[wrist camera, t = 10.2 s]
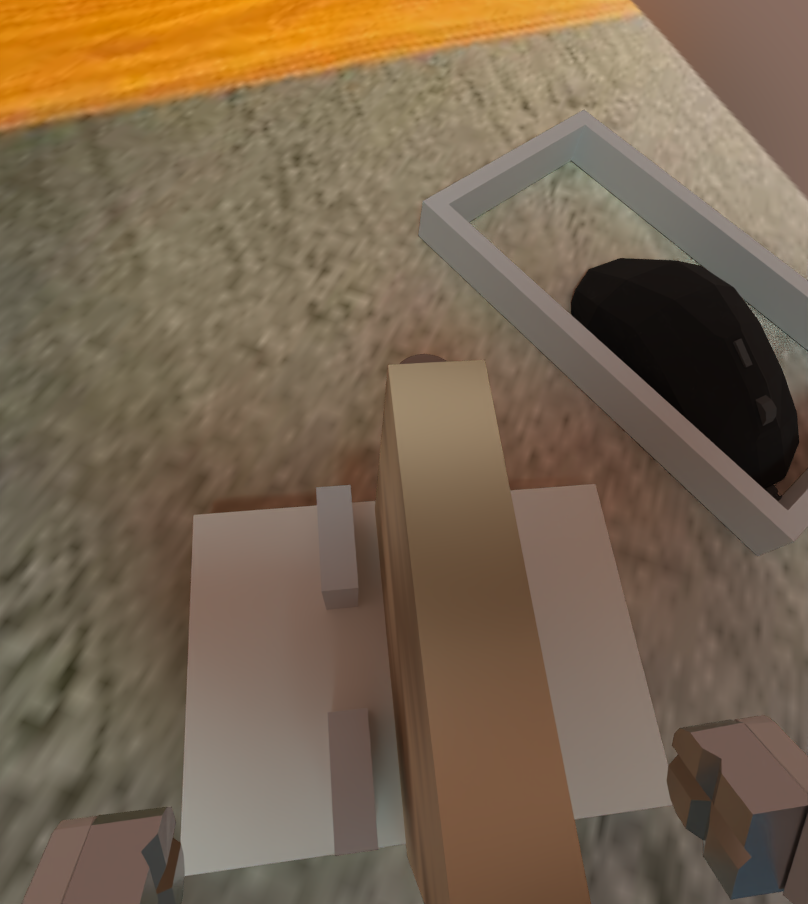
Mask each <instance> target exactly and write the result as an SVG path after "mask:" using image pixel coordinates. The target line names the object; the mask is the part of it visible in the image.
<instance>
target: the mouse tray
mask: <svg viewBox="0 0 808 904" xmlns="http://www.w3.org/2000/svg"><path fill="white" fill-rule="evenodd" d="M570 161H572V162H574V163H575V164H576V165H577V166H579V167H580V168H581V169H582V170H584V171H585V172H586V173H587V174H589V175H590V176H591V177H592V178H594V179H595V180H596V181H597V182H599V183H600V184H601V185H602V186H604V187H605V188H606V189H607V190H609V191H610V192H611V193H612V194H614V195H615V196H616V197H617V198H619V199H620V200H621V201H622V202H623V203H625V204H626V205H627V206H628V207H630V208H631V209H632V210H633V211H635V212H636V213H637V214H638V215H640V216H641V217H642V218H643V219H645V220H646V221H647V222H648V223H650V224H651V225H652V226H653V227H655V228H656V229H657V230H658V231H660V232H661V233H662V234H663V235H665V236H666V237H667V238H668V239H670V240H671V241H672V242H673V243H675V244H676V245H677V246H678V247H679V248H681V249H682V250H683V251H684V252H686V253H687V254H688V255H689V256H691V257H692V258H693V259H694V260H696V261H697V262H698V263H699V264H701V265H702V266H703V267H704V268H706V269H707V270H708V271H710V272H711V273H713V274H714V275H716V276H717V277H719V278H720V279H722V280H723V281H725V282H727V283H728V284H730V285H731V286H733V287H734V288H735V289H736V291H737V292H738V293H739V295H740V296H741V297H742V298H743V299H744V300H745V301H747V302H748V303H749V304H750V305H752V306H753V307H754V308H755V309H757V310H758V311H759V312H760V313H762V314H763V315H764V316H765V317H767V318H768V319H769V320H770V321H772V322H773V323H774V324H775V325H777V326H778V327H779V328H780V329H782V330H783V331H784V332H785V333H787V334H788V335H789V336H790V337H792V338H793V339H794V340H795V341H797V342H798V343H799V344H800V345H801V346H803V347H804V348H805V349H806V350H808V280H807V279H805V278H804V277H803V276H801V275H800V274H799V273H797V272H796V271H795V270H793V269H792V268H791V267H790V266H788V265H787V264H786V263H784V262H783V261H782V260H780V259H779V258H778V257H776V256H775V255H774V254H773V253H771V252H770V251H769V250H767V249H766V248H765V247H763V246H762V245H761V244H759V243H758V242H757V241H755V240H754V239H753V238H752V237H750V236H749V235H748V234H746V233H745V232H744V231H742V230H741V229H740V228H738V227H737V226H736V225H735V224H733V223H732V222H731V221H729V220H728V219H727V218H725V217H724V216H723V215H721V214H720V213H719V212H718V211H716V210H715V209H714V208H712V207H711V206H710V205H708V204H707V203H706V202H704V201H703V200H702V199H701V198H699V197H698V196H697V195H695V194H694V193H693V192H691V191H690V190H689V189H687V188H686V187H685V186H684V185H682V184H681V183H680V182H678V181H677V180H676V179H674V178H673V177H672V176H670V175H669V174H668V173H666V172H665V171H664V170H663V169H661V168H660V167H659V166H657V165H656V164H655V163H653V162H652V161H651V160H649V159H648V158H647V157H646V156H644V155H643V154H642V153H640V152H639V151H638V150H636V149H635V148H634V147H632V146H631V145H630V144H629V143H627V142H626V141H625V140H623V139H622V138H621V137H619V136H618V135H617V134H615V133H614V132H613V131H612V130H610V129H609V128H608V127H606V126H605V125H604V124H602V123H601V122H600V121H598V120H597V119H596V118H595V117H593V116H592V115H591V114H589V113H588V112H587V111H585V110H582V111H580V112H579V113H577V114H575V115H573V116H572V117H570V118H568V119H566V120H565V121H563V122H561V123H559V124H557V125H556V126H554V127H552V128H550V129H549V130H547V131H545V132H543V133H542V134H540V135H538V136H536V137H535V138H533V139H531V140H529V141H528V142H526V143H524V144H522V145H521V146H519V147H517V148H515V149H513V150H512V151H510V152H508V153H506V154H505V155H503V156H501V157H499V158H498V159H496V160H494V161H492V162H491V163H489V164H487V165H485V166H484V167H482V168H480V169H478V170H476V171H475V172H473V173H471V174H469V175H468V176H466V177H464V178H462V179H461V180H459V181H457V182H455V183H454V184H452V185H450V186H448V187H447V188H445V189H443V190H441V191H439V192H438V193H436V194H434V195H432V196H431V197H429V198H427V199H425V200H424V201H423V203H422V211H421V218H420V226H419V234H418V236H419V237H420V238H422V239H423V240H424V241H425V242H426V243H427V244H428V245H429V246H430V247H431V248H432V249H433V250H434V251H435V252H436V253H437V254H438V255H440V256H441V257H442V258H443V259H444V260H445V261H446V262H447V263H448V264H449V265H450V266H451V267H452V268H453V269H454V270H455V271H456V272H458V273H459V274H460V275H461V276H462V277H463V278H464V279H465V280H466V281H467V282H468V283H469V284H470V285H471V286H472V287H473V288H474V289H476V290H477V291H478V292H479V293H480V294H481V295H482V296H483V297H484V298H485V299H486V300H487V301H488V302H489V303H490V304H491V305H492V306H494V307H495V308H496V309H497V310H498V311H499V312H500V313H501V314H502V315H503V316H504V317H505V318H506V319H507V320H508V321H509V322H510V323H511V324H513V325H514V326H515V327H516V328H517V329H518V330H519V331H520V332H521V333H522V334H523V335H524V336H525V337H526V338H527V339H528V340H529V341H531V342H532V343H533V344H534V345H535V346H536V347H537V348H538V349H539V350H540V351H541V352H542V353H543V354H544V355H545V356H546V357H547V358H549V359H550V360H551V361H552V362H553V363H554V364H555V365H556V366H557V367H558V368H559V369H560V370H561V371H562V372H563V373H564V374H565V375H567V376H568V377H569V378H570V379H571V380H572V381H573V382H574V383H575V384H576V385H577V386H578V387H579V388H580V389H581V390H582V391H583V392H585V393H586V394H587V395H588V396H589V397H590V398H591V399H592V400H593V401H594V402H595V403H596V404H597V405H598V406H599V407H600V408H601V409H603V410H604V411H605V412H606V413H607V414H608V415H609V416H610V417H611V418H612V419H613V420H614V421H615V422H616V423H617V424H618V425H619V426H620V427H622V428H623V429H624V430H625V431H626V432H627V433H628V434H629V435H630V436H631V437H632V438H633V439H634V440H635V441H636V442H637V443H638V444H640V445H641V446H642V447H643V448H644V449H645V450H646V451H647V452H648V453H649V454H650V455H651V456H652V457H653V458H654V459H655V460H656V461H658V462H659V463H660V464H661V465H662V466H663V467H664V468H665V469H666V470H667V471H668V472H669V473H670V474H671V475H672V476H673V477H674V478H676V479H677V480H678V481H679V482H680V483H681V484H682V485H683V486H684V487H685V488H686V489H687V490H688V491H689V492H690V493H691V494H692V495H694V496H695V497H696V498H697V499H698V500H699V501H700V502H701V503H702V504H703V505H704V506H705V507H706V508H707V509H708V510H709V511H710V512H711V513H713V514H714V515H715V516H716V517H717V518H718V519H719V520H720V521H721V522H722V523H723V524H724V525H725V526H726V527H727V528H728V529H729V530H731V531H732V532H733V533H734V534H735V535H736V536H737V537H738V538H739V539H740V540H741V541H742V542H743V543H744V544H745V545H746V546H747V547H749V548H750V549H751V550H752V551H753V552H754V553H755V554H756V555H757V556H759V555H762V554H764V553H767V552H769V551H772V550H774V549H777V548H780V547H782V546H785V545H787V544H790V543H792V542H794V541H795V540H796V539H797V538H798V537H799V536H800V535H801V533H802V532H803V531H804V530H805V529H806V528H807V527H808V469H807V470H806V471H805V472H804V473H803V474H802V475H801V476H800V478H799V479H798V480H797V481H796V482H795V483H794V484H793V485H792V486H791V487H790V488H789V489H788V490H787V491H786V492H785V493H784V495H783V496H782V498H781V499H780V500H779V501H777V500H776V499H774V498H773V497H772V496H771V495H770V494H769V493H768V492H767V491H766V490H764V489H763V488H762V487H761V486H760V485H759V484H758V483H757V482H756V481H755V480H753V479H752V478H751V477H750V476H749V475H748V474H747V473H746V472H745V471H743V470H742V469H741V468H740V467H739V466H738V465H737V464H736V463H735V462H733V461H732V460H731V459H730V458H729V457H728V456H727V455H726V454H725V453H724V452H722V451H721V450H720V449H719V448H718V447H717V446H716V445H715V444H714V443H712V442H711V441H710V440H709V439H708V438H707V437H706V436H705V435H704V434H702V433H701V432H700V431H699V430H698V429H697V428H696V427H695V426H694V425H693V424H691V423H690V422H689V421H688V420H687V419H686V418H685V417H684V416H683V415H681V414H680V413H679V412H678V411H677V410H676V409H675V408H674V407H673V406H671V405H670V404H669V403H668V402H667V401H666V400H665V399H664V398H663V397H662V396H660V395H659V394H658V393H657V392H656V391H655V390H654V389H653V388H652V387H650V386H649V385H648V384H647V383H646V382H645V381H644V380H643V379H642V378H640V377H639V376H638V375H637V374H636V373H635V372H634V371H633V370H632V369H631V368H629V367H628V366H627V365H626V364H625V363H624V362H623V361H622V360H621V359H619V358H618V357H617V356H616V355H615V354H614V353H613V352H612V351H611V350H609V349H608V348H607V347H606V346H605V345H604V344H603V343H602V342H601V341H599V340H598V339H597V338H596V337H595V336H594V335H593V334H592V333H591V332H590V331H588V330H587V329H586V328H585V327H584V326H583V325H582V324H581V323H580V322H578V321H577V320H576V319H575V318H574V317H573V316H572V315H571V314H570V313H568V312H567V311H566V310H565V309H564V308H563V307H562V306H561V305H560V304H559V303H557V302H556V301H555V300H554V299H553V298H552V297H551V296H550V295H549V294H547V293H546V292H545V291H544V290H543V289H542V288H541V287H540V286H539V285H537V284H536V283H535V282H534V281H533V280H532V279H531V278H530V277H529V276H528V275H526V274H525V273H524V272H523V271H522V270H521V269H520V268H519V267H518V266H516V265H515V264H514V263H513V262H512V261H511V260H510V259H509V258H508V257H506V256H505V255H504V254H503V253H502V252H501V251H500V250H499V249H498V248H497V247H495V246H494V245H493V244H492V243H491V242H490V241H489V240H488V239H487V238H485V237H484V236H483V235H482V234H481V233H480V232H479V231H478V230H477V229H475V228H474V227H473V226H472V225H471V224H470V223H469V222H470V221H472V220H473V219H475V218H477V217H478V216H480V215H482V214H483V213H485V212H487V211H488V210H490V209H492V208H493V207H495V206H497V205H498V204H500V203H502V202H503V201H505V200H507V199H508V198H510V197H512V196H513V195H515V194H517V193H518V192H520V191H522V190H523V189H525V188H526V187H528V186H530V185H531V184H533V183H535V182H536V181H538V180H540V179H541V178H543V177H545V176H546V175H548V174H550V173H551V172H553V171H555V170H556V169H558V168H560V167H561V166H563V165H565V164H566V163H568V162H570Z"/></svg>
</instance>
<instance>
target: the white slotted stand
mask: <svg viewBox="0 0 808 904" xmlns="http://www.w3.org/2000/svg"><path fill="white" fill-rule="evenodd" d="M510 491H511V496H512V502H513V507H514V512H515V517H516V522H517V527H518V532H519V537H520V543H521V548H522V553H523V558H524V563H525V568H526V573H527V578H528V584H529V589H530V594H531V599H532V604H533V609H534V614H535V620H536V625H537V630H538V635H539V640H540V645H541V650H542V655H543V661H544V666H545V671H546V676H547V681H548V686H549V691H550V696H551V702H552V707H553V712H554V717H555V722H556V727H557V732H558V737H559V743H560V748H561V753H562V758H563V763H564V768H565V773H566V779H567V784H568V789H569V794H570V799H571V804H572V809H573V814H574V819H581V818H588V817H595V816H602V815H609V814H616V813H623V812H629V811H636V810H643V809H650V808H657V807H664V806H671V805H673V804H672V802H671V800H670V796H669V791H668V786H667V773H668V763H667V759H666V755H665V751H664V747H663V744H662V740H661V736H660V732H659V728H658V724H657V720H656V716H655V713H654V709H653V705H652V701H651V697H650V693H649V689H648V685H647V682H646V678H645V674H644V670H643V666H642V662H641V658H640V655H639V651H638V647H637V643H636V639H635V635H634V631H633V627H632V624H631V620H630V616H629V612H628V608H627V604H626V600H625V597H624V593H623V589H622V585H621V581H620V577H619V573H618V569H617V566H616V562H615V558H614V554H613V550H612V546H611V542H610V538H609V535H608V531H607V527H606V523H605V519H604V515H603V511H602V508H601V504H600V500H599V496H598V492H597V488H596V484H587V485H574V486H561V487H548V488H535V489H522V490H510ZM316 495H317V505H315V506H303V507H290V508H277V509H264V510H251V511H238V512H225V513H212V514H199V515H194V517H193V542H192V568H191V593H190V618H189V643H188V668H187V693H186V719H185V744H184V769H183V794H182V819H181V845H182V850H183V854H184V867H185V876H188V875H195V874H202V873H209V872H216V871H223V870H230V869H237V868H244V867H251V866H257V865H264V864H271V863H278V862H285V861H292V860H299V859H306V858H313V857H319V856H326V855H333V854H335V856H337V855H344V854H351V853H358V852H365V851H372V850H378V848H381V847H388V846H395V845H402V844H406V838H405V828H404V817H403V806H402V796H401V785H400V774H399V763H398V753H397V742H396V731H395V720H394V710H393V699H392V688H391V678H390V667H389V656H388V645H387V635H386V624H385V613H384V603H383V592H382V581H381V570H380V560H379V549H378V538H377V527H376V517H375V501H367V502H354V503H352V496H351V485H341V486H328V487H316Z"/></svg>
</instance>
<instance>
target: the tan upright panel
mask: <svg viewBox="0 0 808 904" xmlns="http://www.w3.org/2000/svg"><path fill="white" fill-rule="evenodd" d="M375 517H376V527H377V538H378V549H379V560H380V570H381V581H382V592H383V603H384V613H385V624H386V635H387V645H388V656H389V667H390V678H391V688H392V699H393V710H394V720H395V731H396V742H397V753H398V763H399V774H400V785H401V796H402V806H403V817H404V828H405V838H406V849H407V857H408V860H409V863H410V865H411V868H412V871H413V874H414V876H415V879H416V882H417V885H418V887H419V890H420V893H421V895H422V898H423V901H424V904H591V902H590V896H589V891H588V886H587V881H586V876H585V871H584V866H583V861H582V855H581V850H580V845H579V840H578V835H577V830H576V825H575V820H574V814H573V809H572V804H571V799H570V794H569V789H568V784H567V779H566V773H565V768H564V763H563V758H562V753H561V748H560V743H559V737H558V732H557V727H556V722H555V717H554V712H553V707H552V702H551V696H550V691H549V686H548V681H547V676H546V671H545V666H544V661H543V655H542V650H541V645H540V640H539V635H538V630H537V625H536V620H535V614H534V609H533V604H532V599H531V594H530V589H529V584H528V578H527V573H526V568H525V563H524V558H523V553H522V548H521V543H520V537H519V532H518V527H517V522H516V517H515V512H514V507H513V502H512V496H511V491H510V486H509V481H508V476H507V471H506V466H505V461H504V455H503V450H502V445H501V440H500V435H499V430H498V425H497V419H496V414H495V409H494V404H493V399H492V394H491V389H490V384H489V378H488V373H487V368H486V363H485V360H470V361H451V362H447V361H446V360H444V359H442V358H440V357H437V356H434V355H429V354H420V355H414V356H411V357H409V358H407V359H405V360H403V361H402V362H401V363H400V364H393V365H388V371H387V382H386V393H385V404H384V414H383V425H382V436H381V447H380V458H379V469H378V479H377V490H376V501H375Z"/></svg>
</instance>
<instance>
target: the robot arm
mask: <svg viewBox="0 0 808 904" xmlns="http://www.w3.org/2000/svg"><path fill="white" fill-rule="evenodd" d="M672 746H673V747H674V749H675V750H676V752H677V753H678V755H677V756H676V758H675V759H674V760H673V761H672V762H671V763H670V764H669V765H668V773H667V786H668V791H669V796H670V800H671V802H672V804H673V807H674V809H675V811H676V813H677V815H678V817H679V818H680V820H681V822H682V823H683V825H684V826H685V828H686V829H687V830H689V831H690V832H692V833H693V834H695V835H696V836H698V837H699V838H701V839H702V840H703V857H704V858H705V860H706V861H707V863H708V865H709V866H710V868H711V869H712V871H713V872H714V874H715V876H716V877H717V879H718V880H719V882H720V883H721V885H722V887H723V888H724V890H725V891H726V893H727V894H728V896H729V898H730V899H737V898H744V897H750V896H756V895H763V894H769V893H775V892H781V891H784V892H783V895H784V896H785V897H786V898H787V899H789V900H790V901H791V902H792V903H794V904H808V756H807V755H806V754H805V753H804V752H803V751H802V750H801V749H800V748H799V747H798V746H797V745H796V744H795V743H794V742H793V741H792V740H791V739H790V737H789V736H788V735H787V734H786V733H785V732H784V731H783V730H782V729H781V728H780V727H779V726H778V725H777V724H776V723H775V722H774V721H773V720H772V719H770V718H768V717H766V716H764V715H762V716H755V717H748V718H742V719H736V720H725V721H719V722H713V723H707V724H701V725H695V726H689V727H683V728H679V729H678V730H677V732H676V733H675V734H674V738H673V743H672ZM175 825H176V820H175V817H174V813H173V810H172V807H162V808H154V809H146V810H138V811H130V812H122V813H114V814H105V815H98V816H91V817H84V818H77V819H70V820H62V821H61V822H60V824H59V825H58V826H57V828H56V829H55V830H54V831H53V833H52V834H51V837H50V839H49V841H48V844H47V846H46V848H45V851H44V853H43V855H42V857H41V860H40V862H39V864H38V867H37V869H36V871H35V874H34V876H33V878H32V880H31V883H30V885H29V887H28V890H27V892H26V894H25V897H24V899H23V901H22V904H182V899H183V891H184V876H185V867H184V854H183V850H182V845H181V843H180V842H178V841H177V840H176V839H174V838H173V834H174V830H175Z"/></svg>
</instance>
